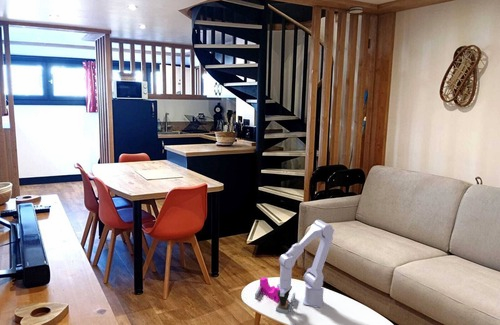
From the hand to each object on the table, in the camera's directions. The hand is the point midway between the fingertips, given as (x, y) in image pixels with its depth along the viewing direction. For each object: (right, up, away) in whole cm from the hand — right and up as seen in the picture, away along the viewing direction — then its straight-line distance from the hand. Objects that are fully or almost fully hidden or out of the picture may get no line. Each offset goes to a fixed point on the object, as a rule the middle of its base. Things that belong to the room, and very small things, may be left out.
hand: (284, 302), depth 200 cm
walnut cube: (0, -3, +1) cm, 3 cm away
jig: (-5, -2, +7) cm, 9 cm away
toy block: (-5, -1, +14) cm, 15 cm away
